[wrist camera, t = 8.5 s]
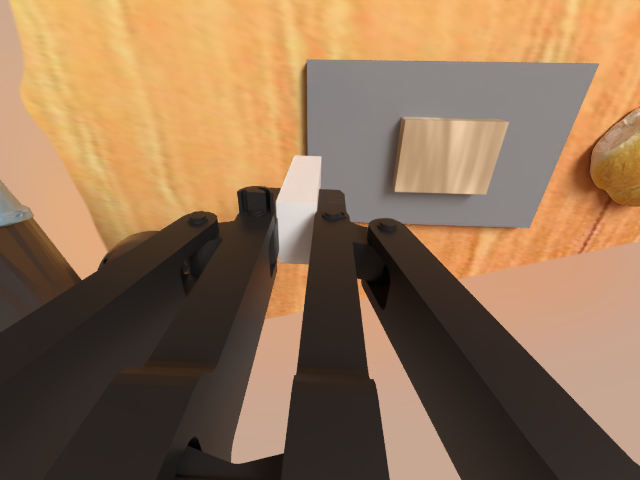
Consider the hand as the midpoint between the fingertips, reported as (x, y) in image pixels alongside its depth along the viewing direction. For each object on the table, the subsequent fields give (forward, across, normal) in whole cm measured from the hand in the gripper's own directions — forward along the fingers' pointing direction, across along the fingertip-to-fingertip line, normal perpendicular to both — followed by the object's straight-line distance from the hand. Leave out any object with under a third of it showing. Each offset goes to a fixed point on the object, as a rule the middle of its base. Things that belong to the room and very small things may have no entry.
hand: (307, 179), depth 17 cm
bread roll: (+12, +29, 0) cm, 31 cm away
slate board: (+12, +10, -1) cm, 15 cm away
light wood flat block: (+10, +7, -1) cm, 12 cm away
